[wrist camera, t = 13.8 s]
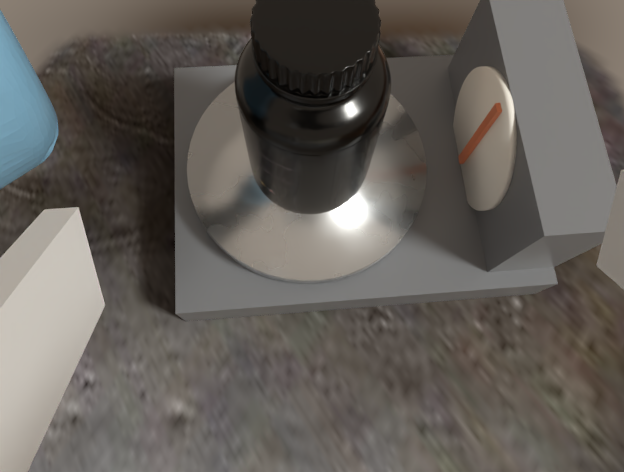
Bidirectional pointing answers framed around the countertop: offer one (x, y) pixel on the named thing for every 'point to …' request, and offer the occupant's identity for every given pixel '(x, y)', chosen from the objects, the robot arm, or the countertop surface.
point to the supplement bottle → (312, 99)
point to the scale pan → (303, 227)
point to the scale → (443, 176)
